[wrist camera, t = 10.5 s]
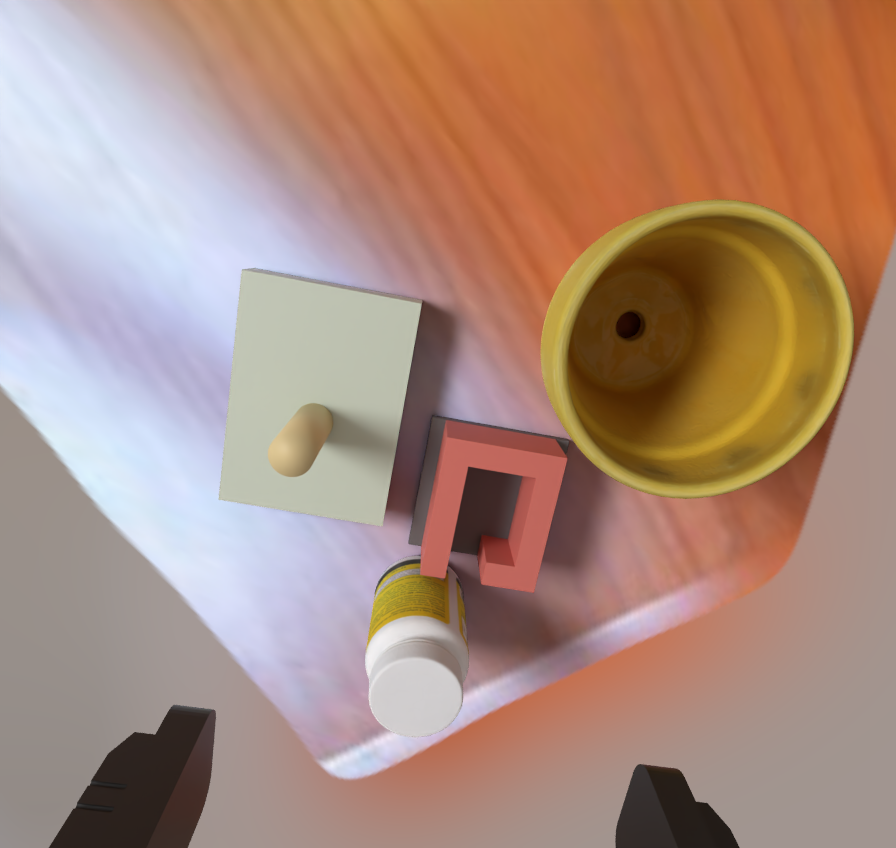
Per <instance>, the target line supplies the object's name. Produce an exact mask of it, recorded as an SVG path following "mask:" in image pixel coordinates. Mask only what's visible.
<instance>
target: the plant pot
mask: <svg viewBox="0 0 896 848" xmlns="http://www.w3.org/2000/svg"><path fill="white" fill-rule="evenodd" d="M626 312H634V313H636V314H637V315H638V316H639V318H640V321H641V325H640V329H639V331H638V332H637V334H635V335H634V336H632V337H630V338H623V337H621V336H619V335H618V333H617V330H616V324H617V322H618V319H619V318H620V317H621V316H622V315H623V314H624V313H626ZM853 343H854V320H853V313H852V307H851V302H850V298H849V294H848V291H847V288H846V285H845V283H844V280H843V277H842V275H841V273H840V271H839V269H838V267H837V266H836V264H835V262H834V261H833V259H832V258H831V256H830V254H829V253H828V252H827V251H826V249H825V248H824V247H823V246H822V245H821V243H820V242H819V241H818V240H817V239H816V238H815V237H814V236H813V235H812V234H811V233H810V232H808V231H807V230H806V229H805V228H803V227H802V226H801V225H799V224H798V223H797V222H795V221H793V220H792V219H790V218H788V217H787V216H785V215H783V214H781V213H779V212H777V211H775V210H772V209H769V208H767V207H764V206H760V205H757V204H753V203H749V202H742V201H736V200H705V201H697V202H690V203H684V204H679V205H675V206H670V207H666V208H662V209H659V210H655V211H652V212H649V213H647V214H644V215H641V216H639V217H636V218H634V219H632V220H629V221H627V222H625V223H623V224H621V225H619V226H618V227H616V228H614V229H612V230H611V231H609V232H608V233H606V234H605V235H604V236H602V237H601V238H599V239H598V240H597V241H596V242H594V243H593V244H592V245H591V246H590V247H589V248H588V249H587V250H586V251H585V252H583V253H582V255H581V256H580V257H579V258H578V259H577V260H576V261H575V262H574V264H573V265H572V266H571V267H570V269H569V270H568V272H567V273H566V274H565V276H564V277H563V279H562V281H561V282H560V284H559V286H558V288H557V290H556V292H555V294H554V296H553V298H552V301H551V303H550V306H549V309H548V312H547V315H546V318H545V322H544V327H543V332H542V339H541V368H542V375H543V380H544V384H545V387H546V391H547V394H548V397H549V399H550V402H551V404H552V406H553V408H554V410H555V412H556V414H557V416H558V418H559V420H560V422H561V423H562V425H563V427H564V428H565V430H566V431H567V433H568V434H569V436H570V437H571V438H572V440H573V441H574V442H575V444H576V445H577V446H578V448H579V449H580V450H581V451H582V453H583V454H584V455H585V456H586V457H587V458H588V459H589V460H590V461H591V462H592V463H593V464H594V465H595V466H597V467H598V468H599V469H600V470H602V471H603V472H604V473H606V474H607V475H608V476H610V477H612V478H613V479H615V480H616V481H618V482H620V483H622V484H624V485H626V486H629V487H631V488H633V489H636V490H639V491H642V492H645V493H648V494H652V495H657V496H661V497H669V498H683V499H688V498H703V497H710V496H716V495H721V494H725V493H729V492H732V491H735V490H738V489H741V488H744V487H746V486H748V485H751V484H753V483H755V482H757V481H759V480H761V479H763V478H765V477H766V476H768V475H770V474H771V473H773V472H774V471H776V470H777V469H779V468H780V467H782V466H783V465H784V464H786V463H787V462H788V461H790V460H791V459H792V458H793V457H794V456H795V455H797V454H798V453H799V452H800V451H801V450H802V449H803V448H804V447H805V446H806V445H807V444H808V443H809V442H810V441H811V440H812V438H813V437H814V436H815V435H816V434H817V433H818V431H819V430H820V429H821V427H822V426H823V424H824V423H825V422H826V420H827V418H828V417H829V415H830V414H831V412H832V410H833V408H834V407H835V405H836V403H837V401H838V399H839V397H840V394H841V392H842V390H843V387H844V384H845V381H846V378H847V375H848V371H849V367H850V363H851V358H852V352H853Z"/></svg>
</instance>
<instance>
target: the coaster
mask: <svg viewBox="0 0 896 848" xmlns="http://www.w3.org/2000/svg"><path fill="white" fill-rule="evenodd" d="M446 420H450V421H455V422H461V423H467V424H472V425H478V426H484V427H489V428H495V429H501V430H506V431H512V432H518V433H523V434H529V435H534V436H540V437H546V438H551V439H556V441H557V442H558V444H559V446H560V447H561V449H562V450H563V452H564V453H565V455H566V452H567V448H568V445H569V440H568V439H564V438H559V437H553V436H547V435H542V434H536V433H530V432H525V431H519V430H514V429H508V428H502V427H497V426H491V425H485V424H480V423H474V422H468V421H463V420H457V419H452V418H446V417H440V416H435V415H432V421H431V426H430V431H429V436H428V442H427V447H426V452H425V458H424V463H423V468H422V473H421V479H420V484H419V489H418V495H417V500H416V505H415V510H414V516H413V521H412V526H411V531H410V537H409V544H412V545H418V546H421V545H422V540H423V535H424V530H425V525H426V520H427V515H428V510H429V504H430V499H431V494H432V489H433V484H434V479H435V474H436V469H437V463H438V458H439V453H440V448H441V443H442V438H443V433H444V428H445V423H446ZM522 477H523V476H520V475H515V474H509V473H503V472H497V471H491V470H485V469H480V468H474V467H468V470H467V475H466V480H465V484H464V489H463V494H462V499H461V504H460V508H459V513H458V518H457V523H456V527H455V532H454V537H453V542H452V547H451V551H455V552H461V553H467V554H473V555H477V554H478V550H479V545H480V541H481V536H482V535H485V536H492V537H498V538H504V539H508V536H509V532H510V528H511V524H512V519H513V515H514V511H515V506H516V502H517V498H518V494H519V489H520V485H521V481H522Z"/></svg>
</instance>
